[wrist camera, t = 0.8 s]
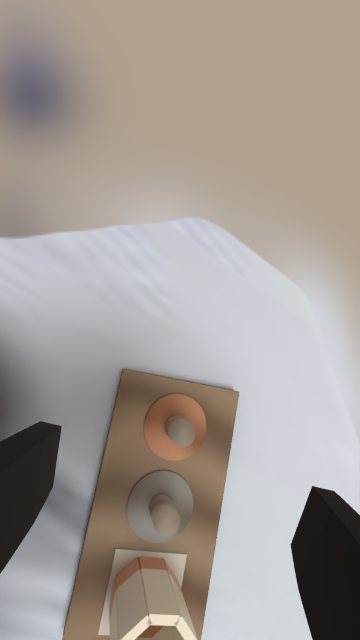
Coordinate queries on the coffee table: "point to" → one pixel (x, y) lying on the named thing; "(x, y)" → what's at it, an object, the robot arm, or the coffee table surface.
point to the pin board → (155, 494)
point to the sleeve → (148, 603)
